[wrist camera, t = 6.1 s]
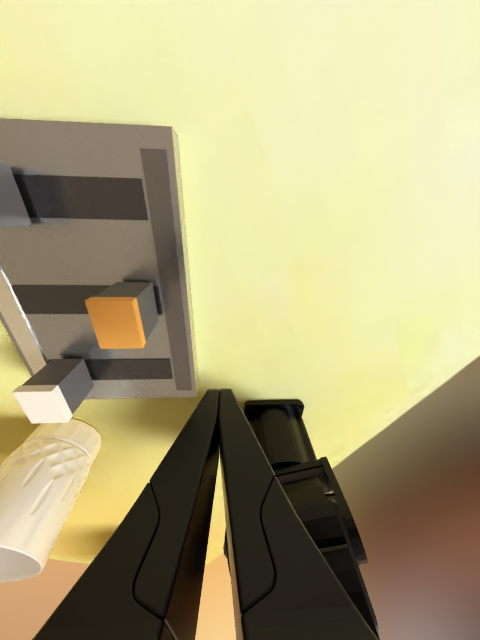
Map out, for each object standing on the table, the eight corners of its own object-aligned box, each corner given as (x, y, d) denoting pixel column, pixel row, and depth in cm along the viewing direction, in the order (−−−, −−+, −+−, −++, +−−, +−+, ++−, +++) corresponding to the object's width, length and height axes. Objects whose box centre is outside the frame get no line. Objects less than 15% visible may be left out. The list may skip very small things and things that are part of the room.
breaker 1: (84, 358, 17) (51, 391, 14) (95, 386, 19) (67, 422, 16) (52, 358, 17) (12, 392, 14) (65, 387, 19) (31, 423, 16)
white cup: (16, 421, 23) (-118, 553, 14) (84, 406, 22) (-11, 534, 14) (61, 461, 27) (-24, 588, 18) (120, 450, 26) (64, 574, 17)
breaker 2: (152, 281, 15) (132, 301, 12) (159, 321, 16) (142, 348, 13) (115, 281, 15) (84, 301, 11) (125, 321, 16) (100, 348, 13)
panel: (177, 135, 13) (171, 126, 11) (198, 385, 22) (196, 397, 20) (-75, 123, 12) (-116, 112, 11) (56, 388, 21) (43, 400, 20)
